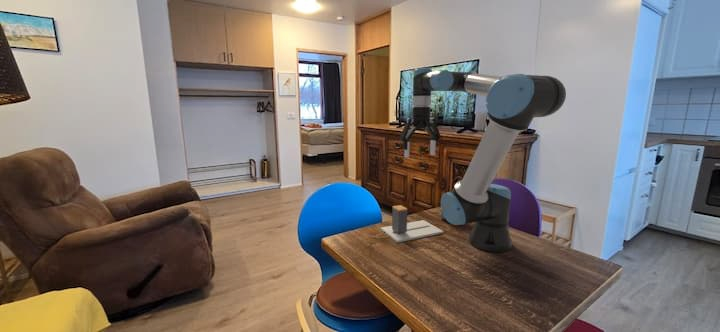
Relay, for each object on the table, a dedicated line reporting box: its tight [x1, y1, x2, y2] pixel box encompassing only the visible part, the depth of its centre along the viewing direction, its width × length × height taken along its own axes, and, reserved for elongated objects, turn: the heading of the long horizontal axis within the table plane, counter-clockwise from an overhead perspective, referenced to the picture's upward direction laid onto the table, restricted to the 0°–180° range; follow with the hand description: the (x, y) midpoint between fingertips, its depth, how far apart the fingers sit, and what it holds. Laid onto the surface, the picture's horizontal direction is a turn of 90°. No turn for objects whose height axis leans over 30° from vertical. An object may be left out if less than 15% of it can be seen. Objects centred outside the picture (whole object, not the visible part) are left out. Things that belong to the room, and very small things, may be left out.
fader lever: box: [391, 204, 408, 234], centre depth 126 cm, size 5×4×10 cm
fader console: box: [380, 219, 444, 243], centre depth 129 cm, size 14×22×1 cm, turn 113°
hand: (419, 156), depth 134 cm, fingers open, 13 cm apart
